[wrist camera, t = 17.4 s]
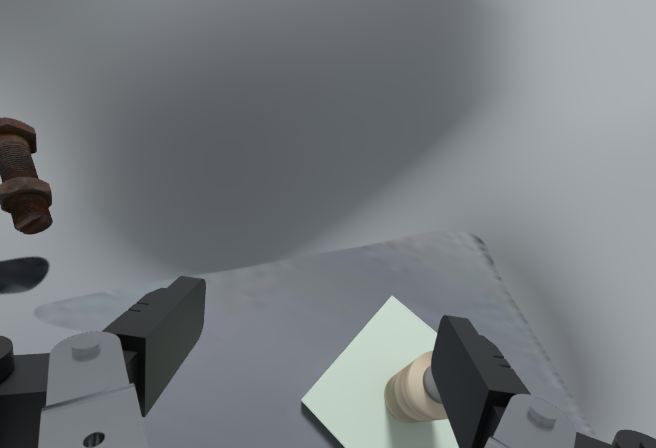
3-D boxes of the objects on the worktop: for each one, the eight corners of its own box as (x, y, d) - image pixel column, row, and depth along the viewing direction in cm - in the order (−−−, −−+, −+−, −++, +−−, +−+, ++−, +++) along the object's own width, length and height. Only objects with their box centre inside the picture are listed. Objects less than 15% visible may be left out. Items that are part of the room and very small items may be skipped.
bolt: (50, 245, 41) (22, 157, 46) (77, 217, 40) (45, 131, 45) (-14, 237, 35) (-36, 139, 41) (17, 204, 34) (-11, 109, 40)
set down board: (420, 529, 27) (423, 532, 26) (301, 400, 31) (301, 400, 31) (502, 393, 32) (507, 392, 31) (390, 298, 37) (392, 295, 36)
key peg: (412, 434, 30) (457, 435, 20) (375, 398, 31) (400, 383, 21) (438, 395, 31) (491, 379, 22) (401, 362, 32) (436, 334, 23)
